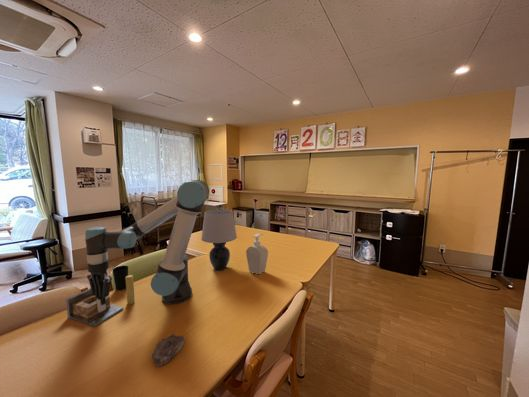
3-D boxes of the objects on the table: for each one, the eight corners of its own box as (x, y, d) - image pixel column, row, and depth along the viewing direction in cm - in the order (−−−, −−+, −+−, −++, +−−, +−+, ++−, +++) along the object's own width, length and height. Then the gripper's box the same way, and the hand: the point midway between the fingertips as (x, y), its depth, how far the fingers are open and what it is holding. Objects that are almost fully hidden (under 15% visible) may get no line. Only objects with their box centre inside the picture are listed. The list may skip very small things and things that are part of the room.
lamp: (194, 270, 151) (192, 212, 146) (219, 259, 171) (218, 208, 167) (220, 279, 138) (219, 216, 134) (243, 265, 158) (243, 211, 154)
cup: (121, 292, 123) (120, 271, 121) (110, 290, 124) (108, 270, 123) (132, 285, 130) (131, 266, 129) (121, 284, 132) (120, 265, 130)
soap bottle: (269, 271, 150) (269, 234, 147) (260, 276, 142) (260, 237, 139) (255, 266, 157) (255, 231, 154) (246, 271, 149) (245, 234, 146)
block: (110, 306, 108) (109, 296, 107) (88, 318, 98) (87, 308, 98) (96, 302, 111) (95, 292, 110) (73, 314, 102) (72, 303, 101)
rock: (145, 363, 77) (145, 351, 76) (169, 340, 87) (168, 329, 87) (164, 370, 74) (164, 357, 74) (186, 345, 85) (186, 334, 84)
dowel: (136, 301, 114) (134, 275, 112) (130, 305, 111) (128, 278, 109) (131, 300, 115) (129, 274, 113) (125, 303, 112) (123, 277, 110)
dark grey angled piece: (123, 309, 107) (121, 291, 106) (94, 326, 95) (93, 307, 94) (97, 302, 113) (96, 285, 112) (67, 317, 101) (65, 299, 100)
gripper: (116, 260, 101) (119, 308, 103) (96, 256, 105) (100, 303, 108) (99, 266, 94) (103, 318, 96) (79, 262, 98) (83, 312, 101)
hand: (101, 310), depth 102 cm, fingers closed
